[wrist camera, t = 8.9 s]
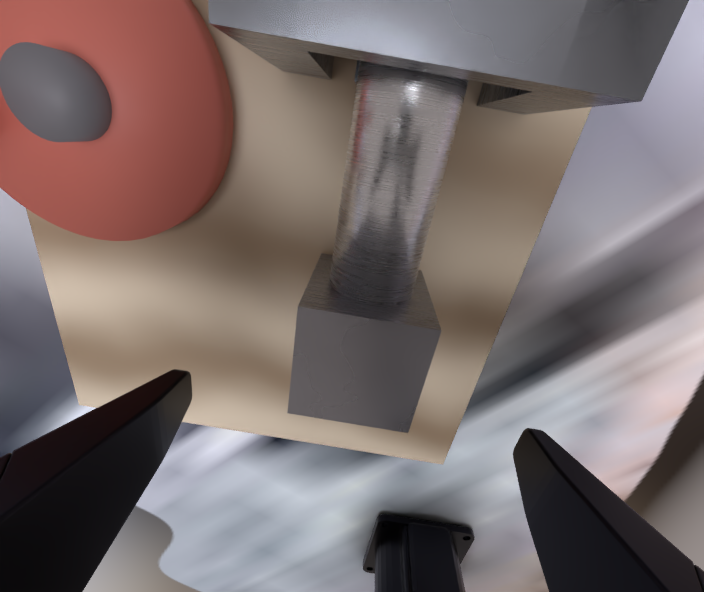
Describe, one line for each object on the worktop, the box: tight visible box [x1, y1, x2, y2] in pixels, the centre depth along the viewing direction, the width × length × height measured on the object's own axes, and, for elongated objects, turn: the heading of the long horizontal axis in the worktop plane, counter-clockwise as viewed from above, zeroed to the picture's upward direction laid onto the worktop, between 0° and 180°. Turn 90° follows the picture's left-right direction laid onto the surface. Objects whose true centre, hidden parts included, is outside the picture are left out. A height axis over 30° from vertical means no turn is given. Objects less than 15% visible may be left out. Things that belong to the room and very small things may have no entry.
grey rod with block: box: [287, 61, 469, 433], centre depth 10 cm, size 15×4×4 cm, turn 171°
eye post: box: [208, 0, 689, 115], centre depth 8 cm, size 2×8×5 cm, turn 81°
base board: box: [26, 0, 592, 464], centre depth 14 cm, size 20×20×1 cm
